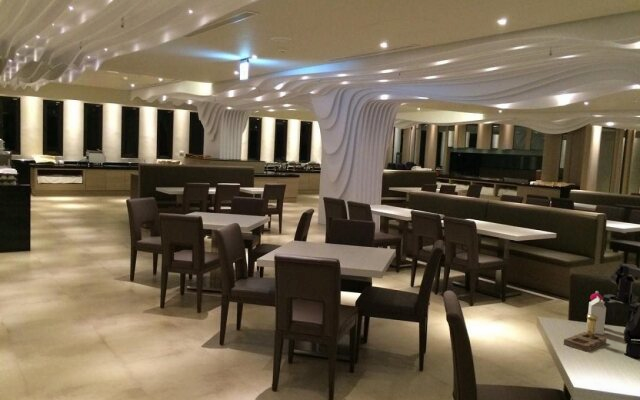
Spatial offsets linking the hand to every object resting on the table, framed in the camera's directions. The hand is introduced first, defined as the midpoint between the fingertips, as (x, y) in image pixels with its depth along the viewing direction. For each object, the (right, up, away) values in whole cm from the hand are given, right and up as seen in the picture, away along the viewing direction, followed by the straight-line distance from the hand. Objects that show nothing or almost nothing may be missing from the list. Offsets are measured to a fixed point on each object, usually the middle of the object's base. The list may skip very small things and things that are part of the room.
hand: (621, 318), depth 271 cm
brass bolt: (-14, -12, +3) cm, 19 cm away
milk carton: (-3, -12, +20) cm, 23 cm away
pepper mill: (+2, -11, +31) cm, 32 cm away
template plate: (-18, -12, 0) cm, 22 cm away
